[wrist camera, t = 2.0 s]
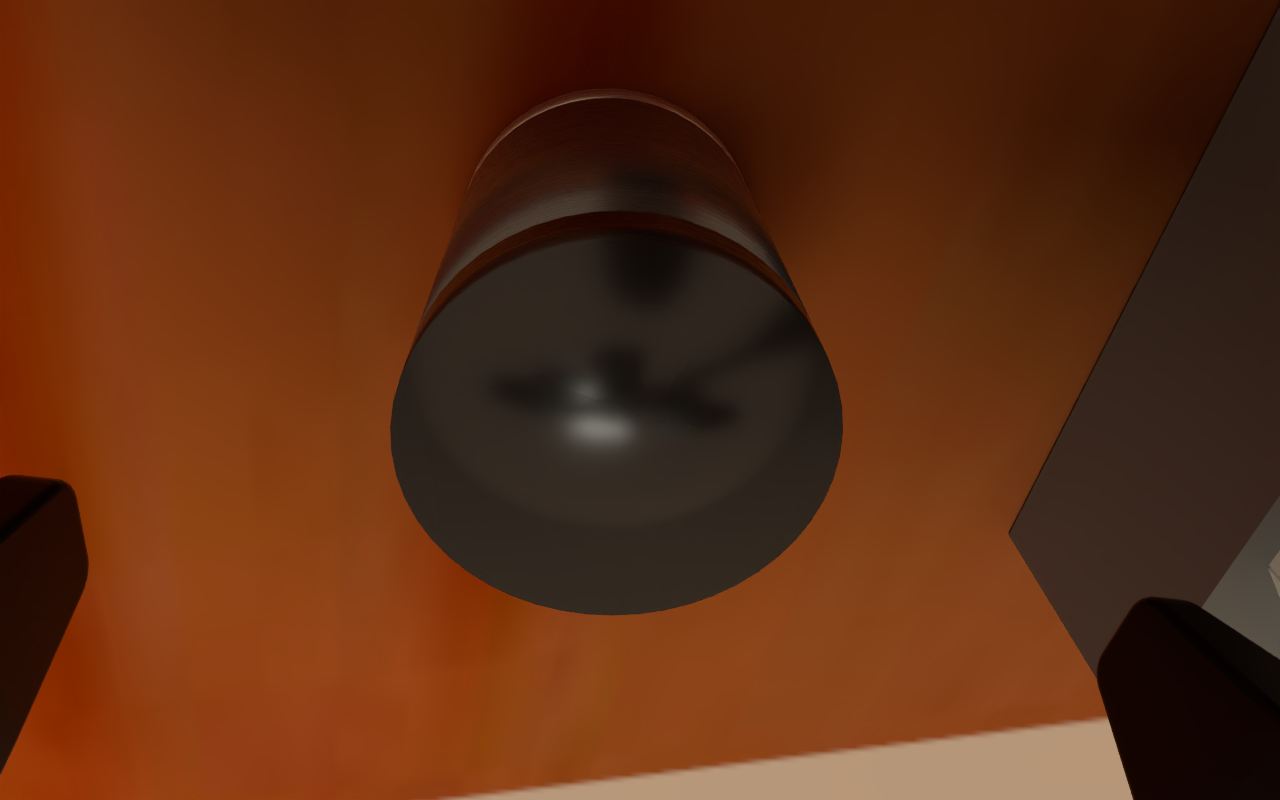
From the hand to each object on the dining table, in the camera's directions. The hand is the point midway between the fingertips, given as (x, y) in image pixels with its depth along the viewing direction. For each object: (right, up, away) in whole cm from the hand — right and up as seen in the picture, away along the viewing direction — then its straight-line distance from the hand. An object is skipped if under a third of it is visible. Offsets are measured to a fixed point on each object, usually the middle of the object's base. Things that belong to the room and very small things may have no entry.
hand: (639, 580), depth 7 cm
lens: (-1, +4, +7) cm, 8 cm away
